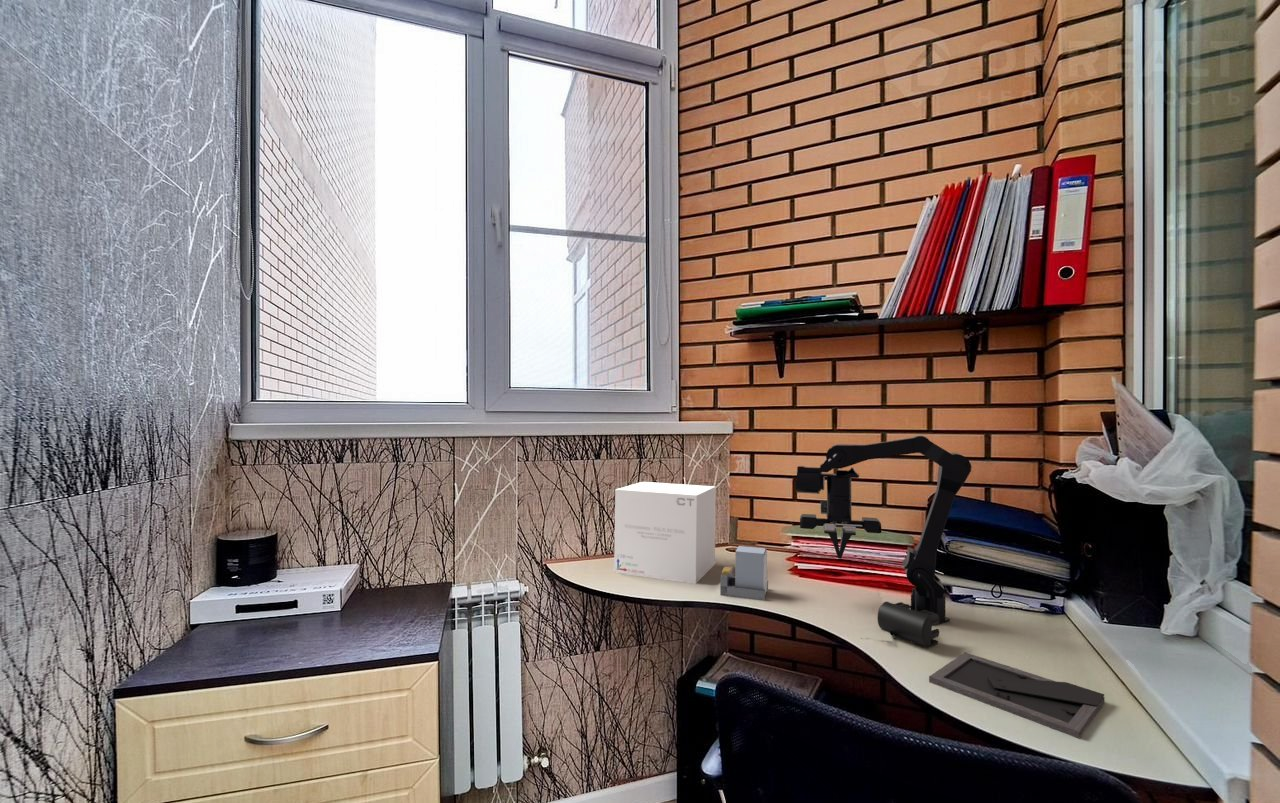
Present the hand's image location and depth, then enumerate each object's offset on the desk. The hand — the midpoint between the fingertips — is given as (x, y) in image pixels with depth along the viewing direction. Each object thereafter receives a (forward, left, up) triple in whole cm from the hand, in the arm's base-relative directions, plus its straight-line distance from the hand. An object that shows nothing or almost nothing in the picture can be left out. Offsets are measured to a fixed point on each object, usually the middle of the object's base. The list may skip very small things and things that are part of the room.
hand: (839, 558), depth 134 cm
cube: (+46, +23, -12) cm, 53 cm away
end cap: (-21, +2, -12) cm, 24 cm away
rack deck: (+11, +13, -12) cm, 20 cm away
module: (+14, +16, -11) cm, 24 cm away
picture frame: (-43, +5, -13) cm, 45 cm away
